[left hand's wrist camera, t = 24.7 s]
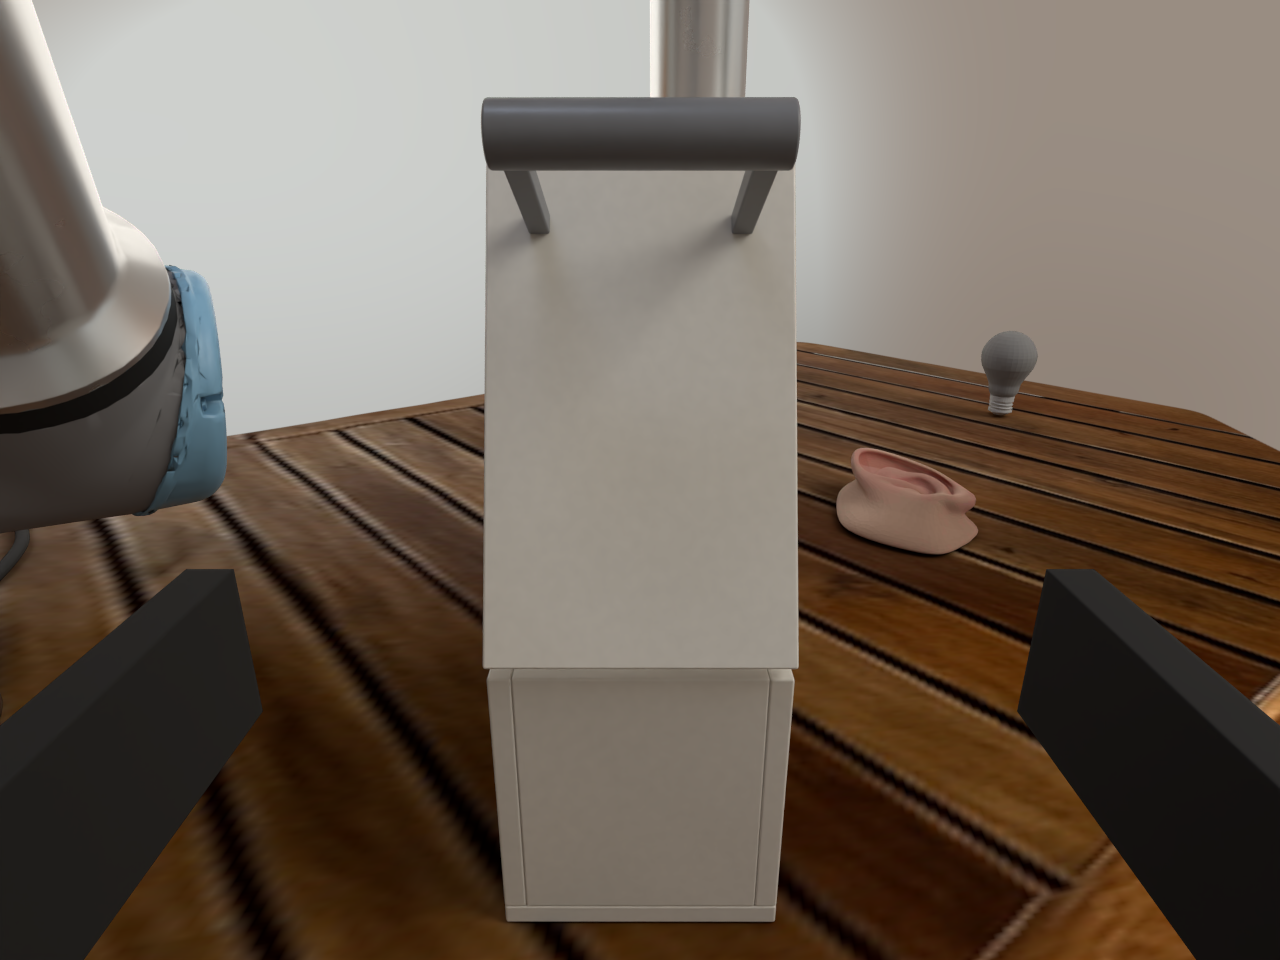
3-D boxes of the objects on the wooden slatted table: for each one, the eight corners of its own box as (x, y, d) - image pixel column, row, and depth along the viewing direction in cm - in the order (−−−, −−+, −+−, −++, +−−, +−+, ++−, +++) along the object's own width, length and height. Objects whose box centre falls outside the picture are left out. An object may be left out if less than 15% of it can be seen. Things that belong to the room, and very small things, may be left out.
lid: (491, 146, 26) (428, -5, 19) (790, 147, 26) (853, -6, 19) (487, 663, 26) (421, 732, 18) (793, 664, 26) (860, 732, 18)
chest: (552, 666, 45) (545, 492, 41) (728, 666, 45) (736, 492, 41) (506, 922, 29) (486, 679, 25) (775, 923, 29) (795, 679, 25)
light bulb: (981, 420, 92) (995, 335, 88) (966, 407, 97) (978, 326, 94) (1034, 421, 91) (1050, 336, 88) (1016, 408, 97) (1030, 327, 93)
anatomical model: (986, 513, 55) (823, 490, 59) (977, 563, 57) (819, 538, 61) (984, 457, 67) (848, 441, 71) (977, 500, 68) (844, 482, 72)
